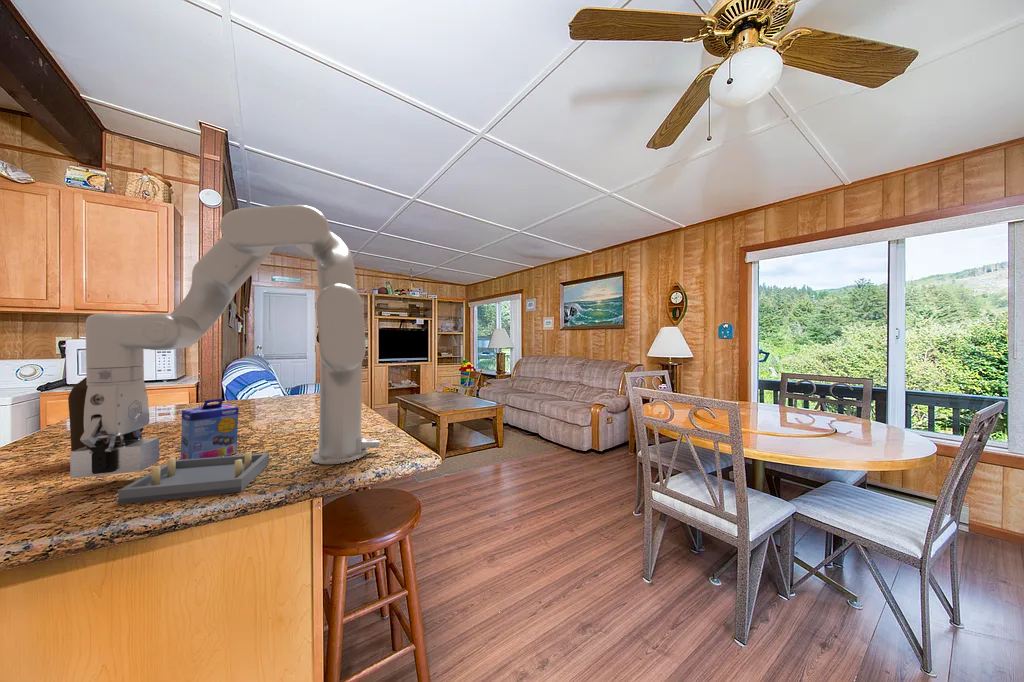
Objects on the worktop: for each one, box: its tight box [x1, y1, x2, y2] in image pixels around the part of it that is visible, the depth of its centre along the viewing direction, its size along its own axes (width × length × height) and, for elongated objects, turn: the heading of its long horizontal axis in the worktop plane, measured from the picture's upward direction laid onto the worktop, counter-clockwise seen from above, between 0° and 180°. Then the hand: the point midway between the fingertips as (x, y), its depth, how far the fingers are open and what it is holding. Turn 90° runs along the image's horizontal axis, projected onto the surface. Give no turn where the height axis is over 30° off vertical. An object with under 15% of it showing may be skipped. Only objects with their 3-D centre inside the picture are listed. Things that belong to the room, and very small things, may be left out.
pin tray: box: [117, 451, 270, 506], centre depth 71 cm, size 18×16×4 cm
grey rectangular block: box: [69, 437, 160, 479], centre depth 69 cm, size 10×6×5 cm, turn 110°
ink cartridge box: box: [180, 397, 240, 460], centre depth 85 cm, size 10×6×14 cm, turn 152°
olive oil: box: [67, 377, 121, 452], centre depth 82 cm, size 11×11×25 cm
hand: (117, 465), depth 69 cm, fingers closed on grey rectangular block, 6 cm apart
